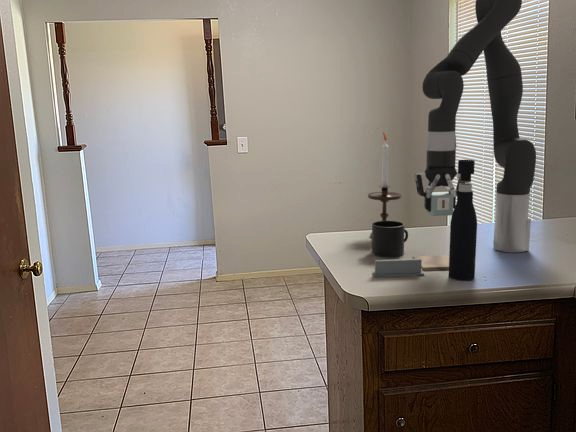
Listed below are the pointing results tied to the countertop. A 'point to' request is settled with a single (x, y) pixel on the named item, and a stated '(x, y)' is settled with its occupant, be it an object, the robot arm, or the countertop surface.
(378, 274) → the grey angle bar
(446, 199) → the letter cube
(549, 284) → the countertop surface
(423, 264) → the coaster
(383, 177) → the candlestick
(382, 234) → the mug
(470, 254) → the wine bottle
